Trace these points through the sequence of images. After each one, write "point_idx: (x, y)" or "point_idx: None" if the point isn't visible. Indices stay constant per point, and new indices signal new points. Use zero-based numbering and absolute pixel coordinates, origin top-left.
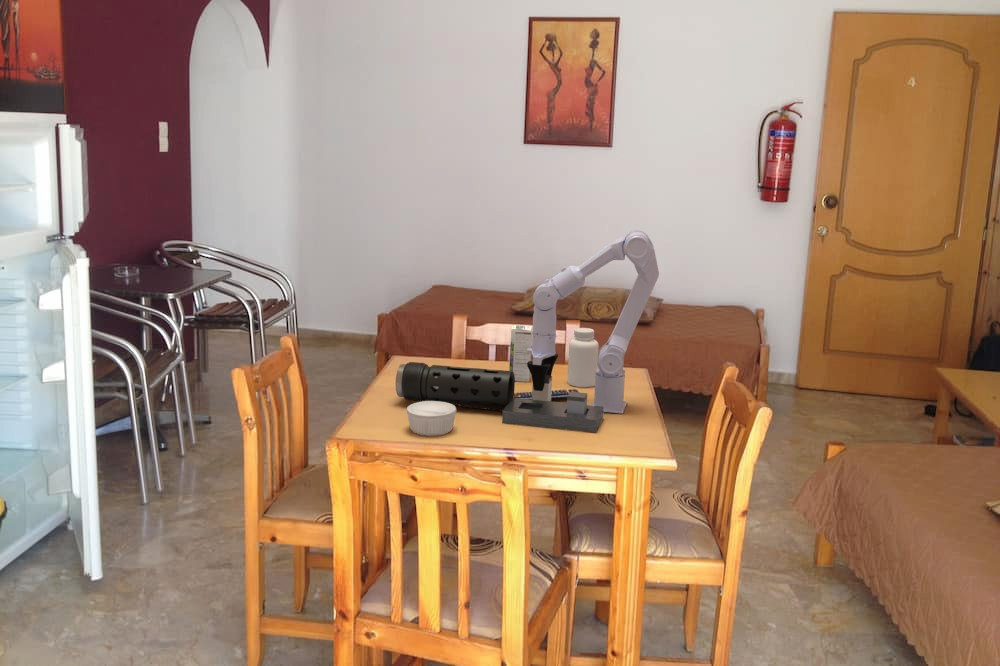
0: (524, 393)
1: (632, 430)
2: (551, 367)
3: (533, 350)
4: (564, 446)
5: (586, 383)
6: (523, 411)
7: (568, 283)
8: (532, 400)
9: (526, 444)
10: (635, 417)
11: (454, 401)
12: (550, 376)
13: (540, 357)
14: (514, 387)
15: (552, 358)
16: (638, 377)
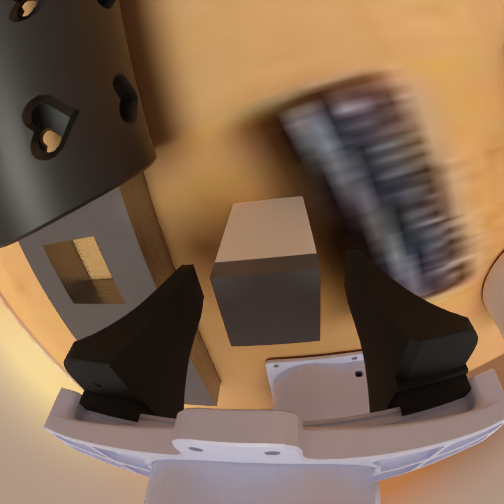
0: (397, 120)
1: None
2: (365, 358)
3: (156, 470)
4: (46, 338)
5: (486, 303)
6: (39, 269)
7: None
8: (135, 260)
9: (7, 288)
10: None
11: (36, 1)
12: (303, 338)
13: (73, 448)
14: (149, 165)
15: (375, 410)
16: None
